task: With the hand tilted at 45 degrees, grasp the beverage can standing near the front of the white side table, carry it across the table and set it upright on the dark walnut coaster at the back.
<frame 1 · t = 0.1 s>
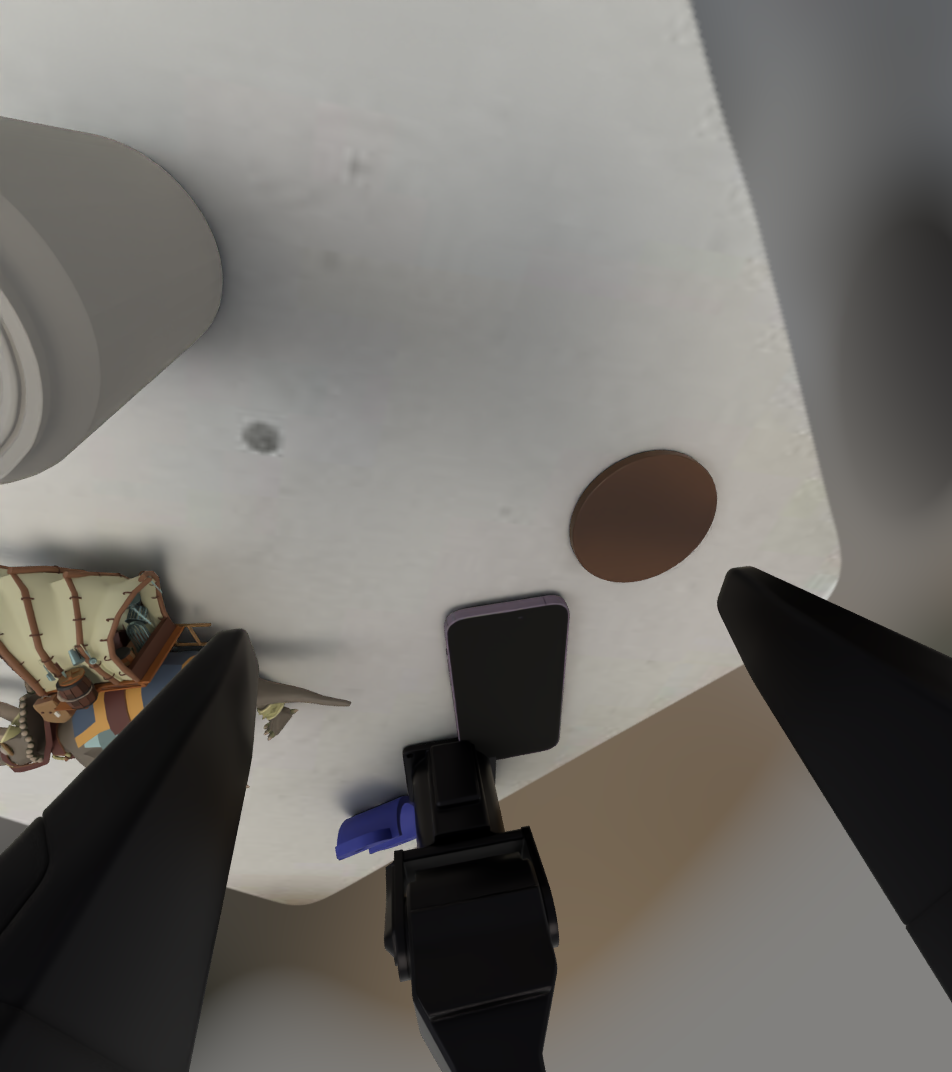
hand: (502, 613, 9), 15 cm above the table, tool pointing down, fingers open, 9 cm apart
coaster: (640, 518, 28), on the table
figurine: (129, 633, 26), on the table
beverage can: (127, 252, 17), on the table
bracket: (385, 848, 37), point 3 cm above the table
smartphone: (505, 679, 34), on the table, touching arm
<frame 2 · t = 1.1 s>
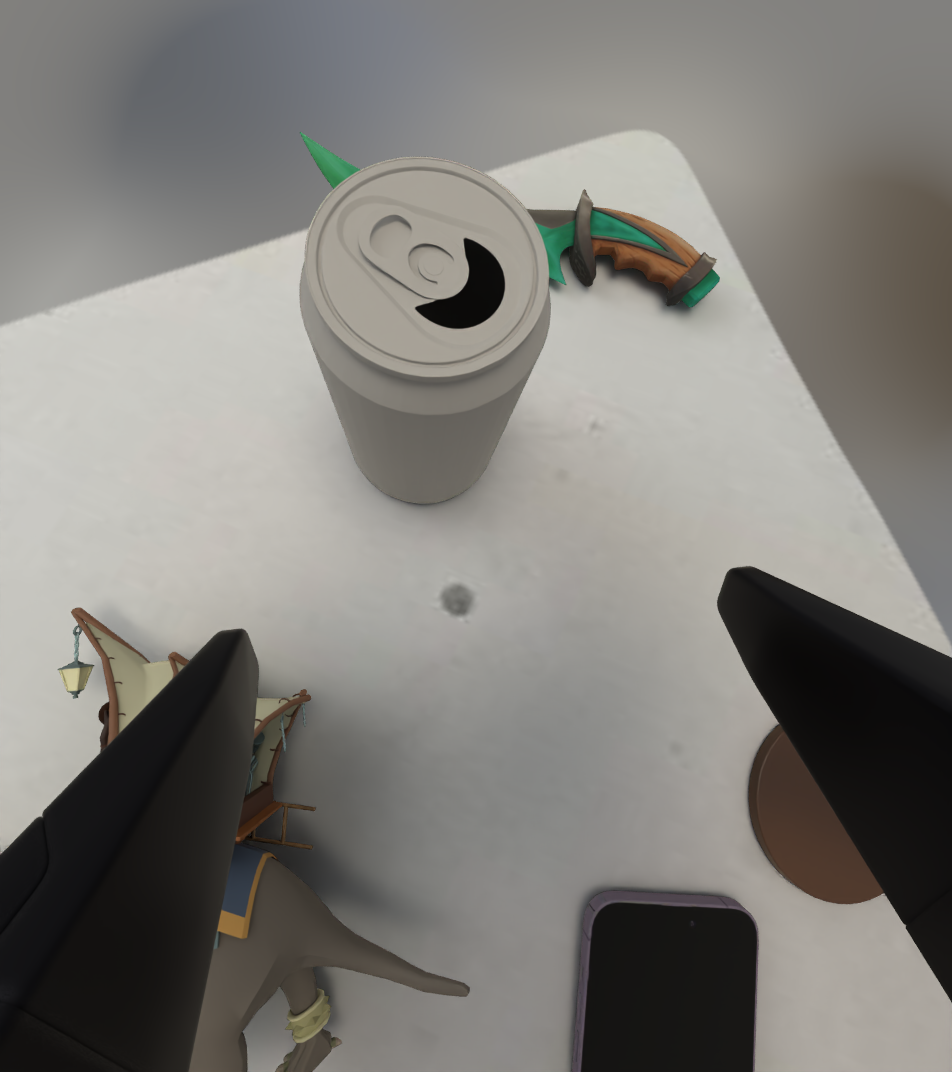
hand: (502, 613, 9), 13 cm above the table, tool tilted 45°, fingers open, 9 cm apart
coaster: (830, 800, 23), on the table
figurine: (193, 817, 20), on the table
beverage can: (422, 440, 24), on the table
knife: (496, 277, 25), on the table
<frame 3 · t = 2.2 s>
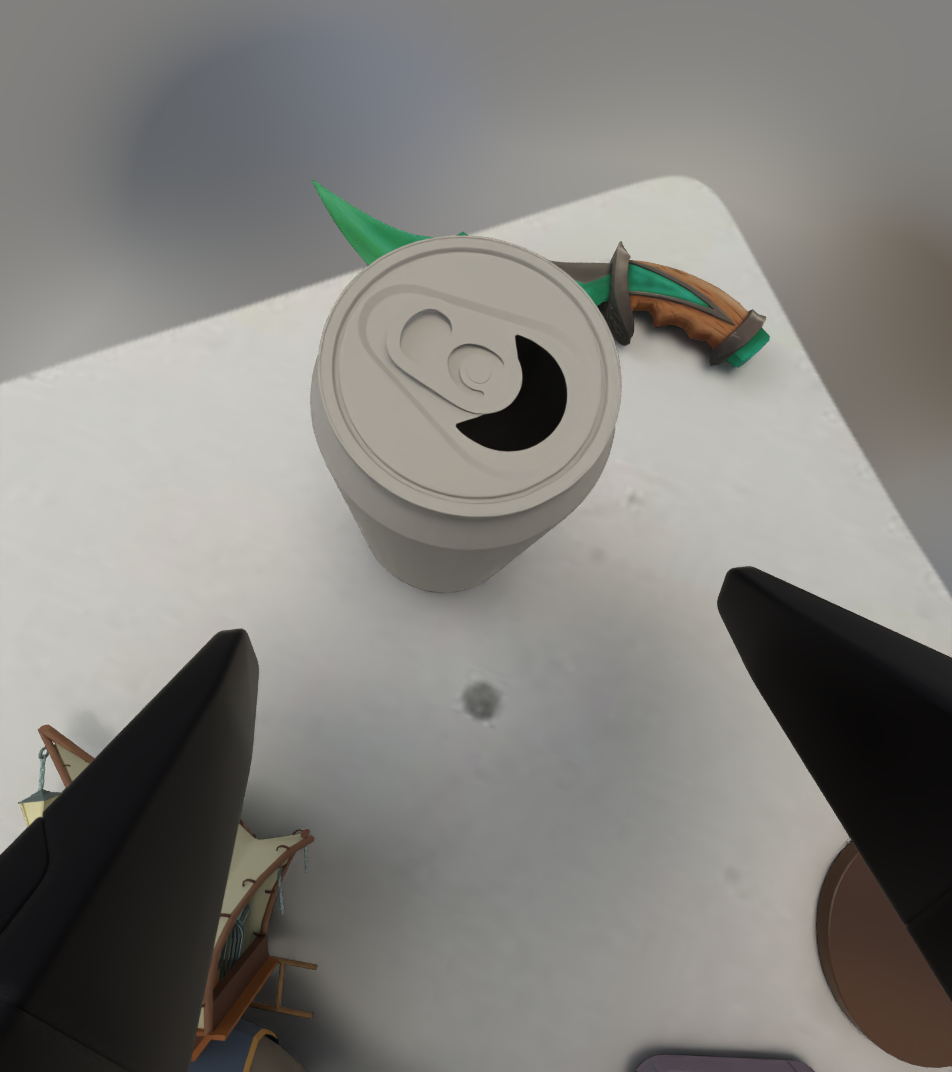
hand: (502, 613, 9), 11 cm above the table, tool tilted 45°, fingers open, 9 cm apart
coaster: (910, 935, 20), on the table
figurine: (174, 967, 17), on the table
beverage can: (441, 516, 21), on the table
knife: (524, 336, 23), on the table
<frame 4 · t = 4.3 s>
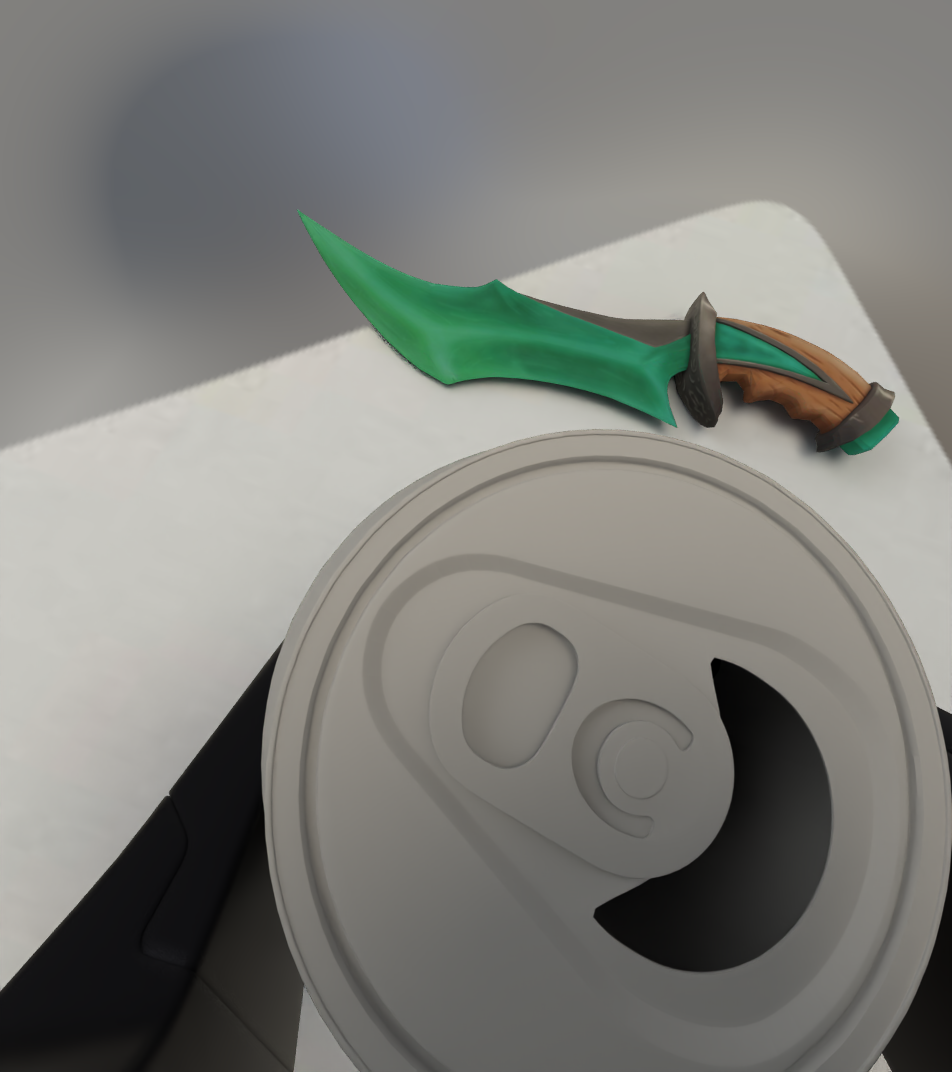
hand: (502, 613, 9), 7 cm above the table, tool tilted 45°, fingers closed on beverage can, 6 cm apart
beverage can: (470, 666, 16), on the table, touching gripper
knife: (577, 417, 17), on the table
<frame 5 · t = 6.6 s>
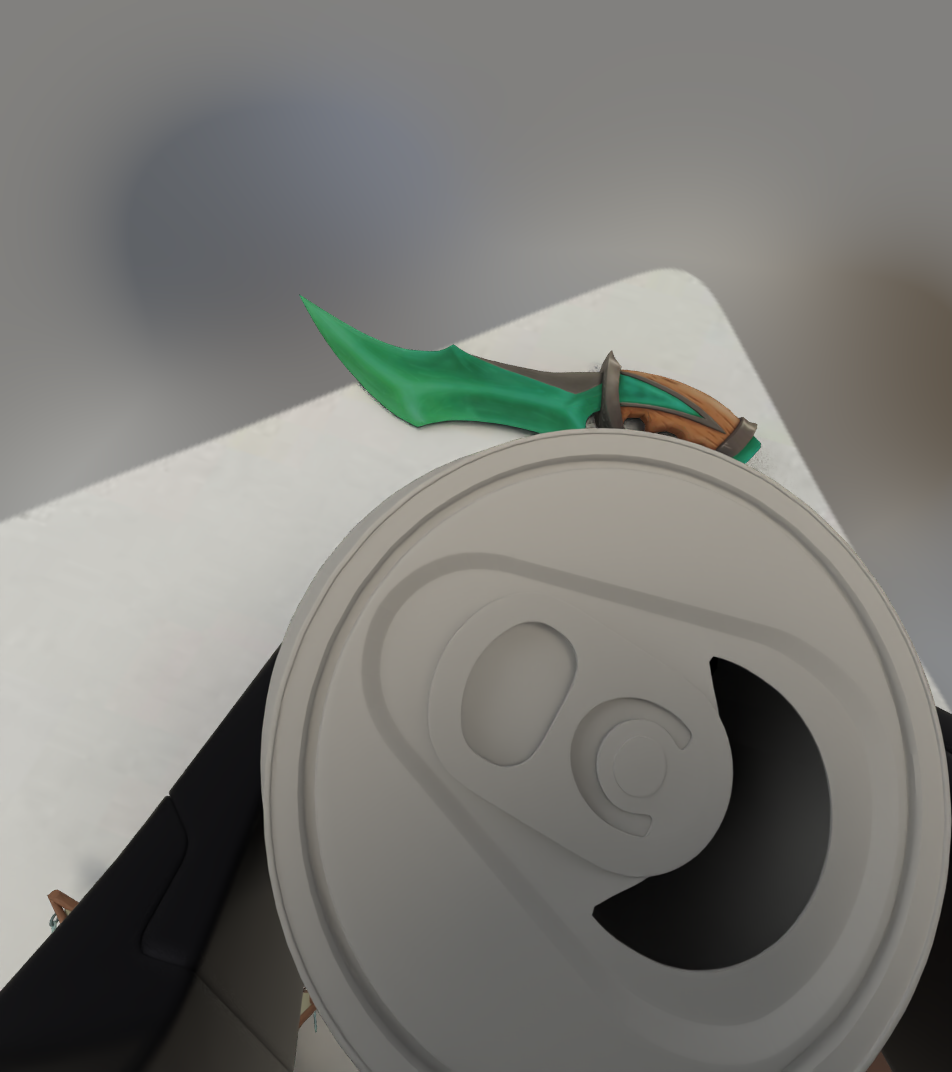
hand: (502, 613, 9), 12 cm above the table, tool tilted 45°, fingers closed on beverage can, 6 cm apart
beverage can: (470, 666, 16), point 5 cm above the table, touching gripper
knife: (517, 449, 23), on the table
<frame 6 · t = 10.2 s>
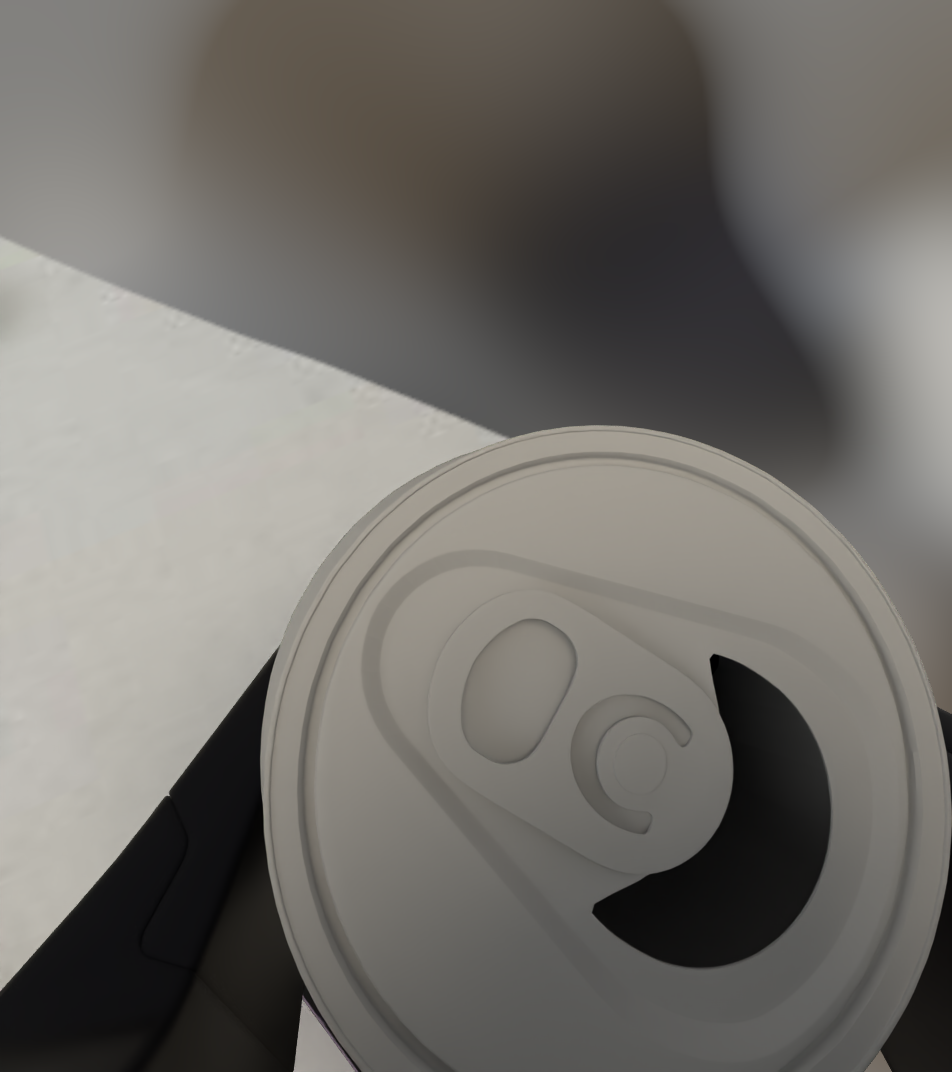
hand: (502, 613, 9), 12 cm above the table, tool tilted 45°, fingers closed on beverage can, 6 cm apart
beverage can: (470, 665, 16), point 6 cm above the table, touching gripper
smartphone: (481, 1029, 19), on the table, touching arm
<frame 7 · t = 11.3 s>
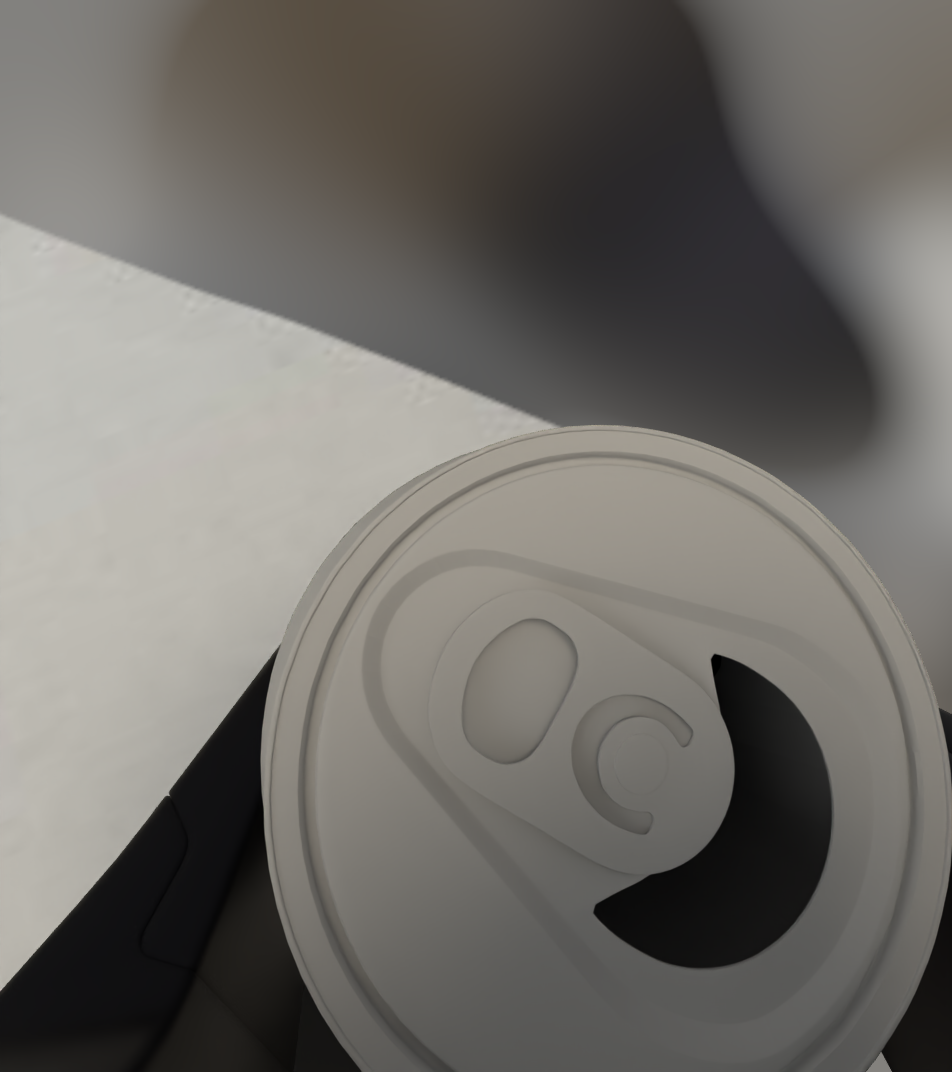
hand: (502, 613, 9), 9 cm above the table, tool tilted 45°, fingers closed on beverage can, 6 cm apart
beverage can: (470, 665, 16), point 2 cm above the table, touching gripper
when the fingers open (7 cm above the table, at t = 12.5 s): beverage can stays where it is, resting on coaster.
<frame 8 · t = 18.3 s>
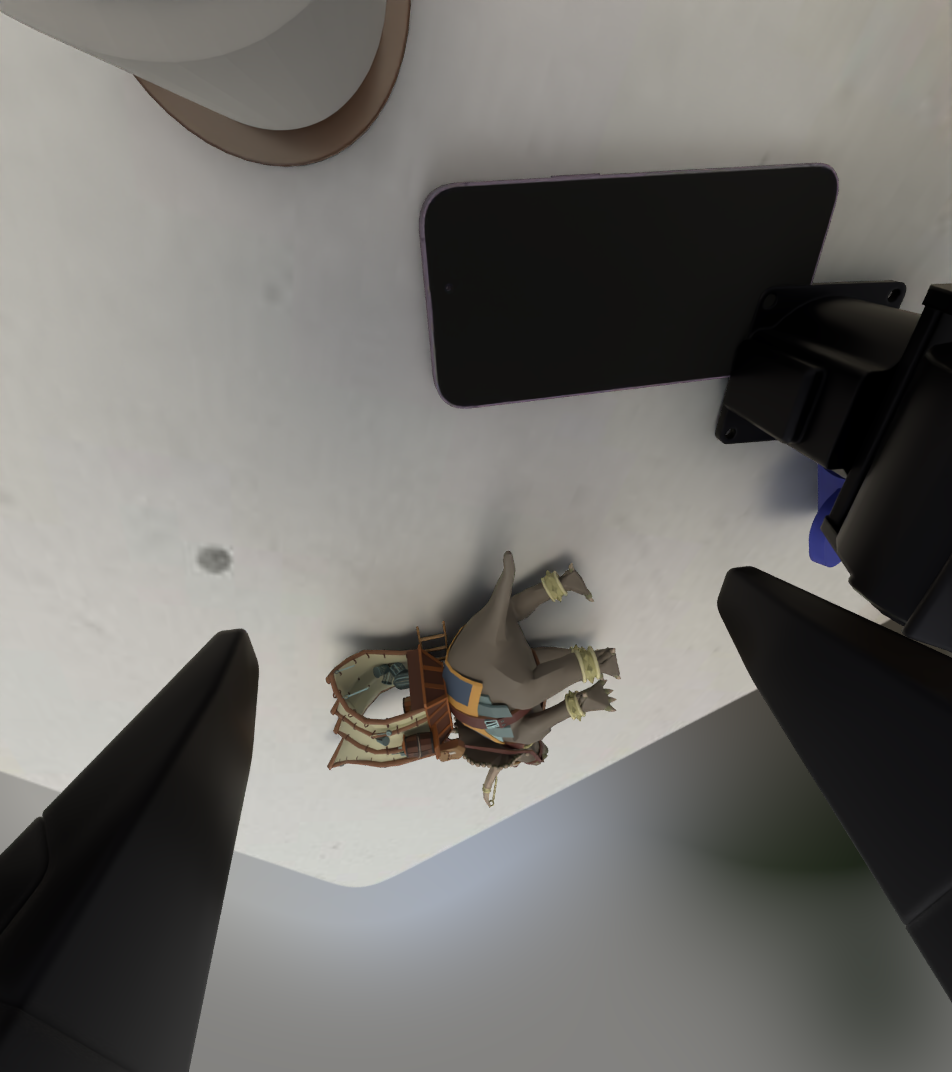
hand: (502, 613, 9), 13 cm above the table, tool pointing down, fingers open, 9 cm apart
figurine: (446, 662, 29), on the table
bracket: (889, 491, 24), point 3 cm above the table
smartphone: (619, 288, 20), on the table
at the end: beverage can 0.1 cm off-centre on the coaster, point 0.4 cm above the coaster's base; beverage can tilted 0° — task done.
